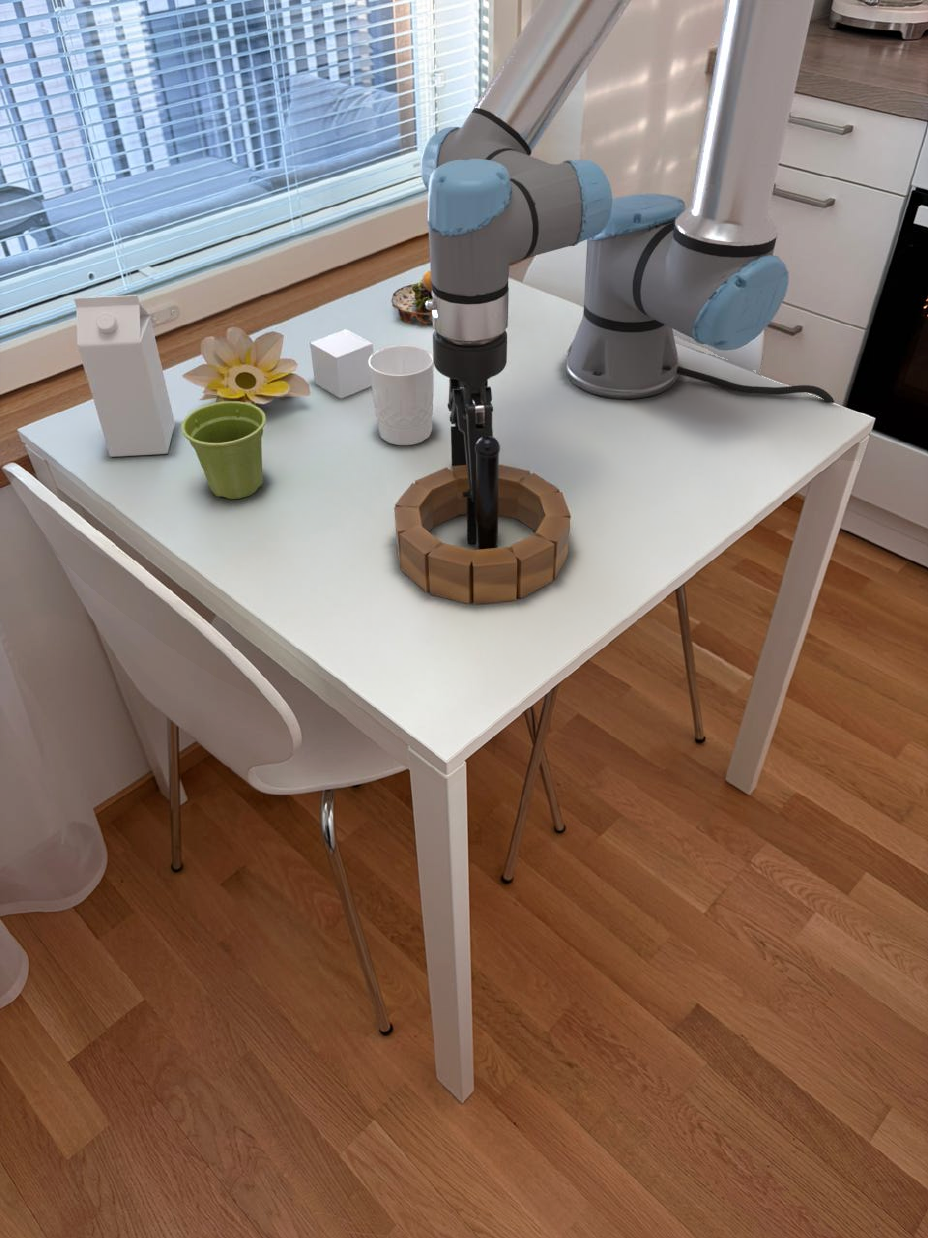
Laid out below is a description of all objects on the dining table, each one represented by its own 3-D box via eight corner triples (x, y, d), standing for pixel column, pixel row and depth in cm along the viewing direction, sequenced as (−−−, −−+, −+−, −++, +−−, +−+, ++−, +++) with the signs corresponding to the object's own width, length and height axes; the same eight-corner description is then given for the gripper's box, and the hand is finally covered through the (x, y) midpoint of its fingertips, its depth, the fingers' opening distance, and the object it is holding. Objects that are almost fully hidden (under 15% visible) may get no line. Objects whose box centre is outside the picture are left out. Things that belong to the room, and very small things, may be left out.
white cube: (376, 384, 136) (373, 343, 132) (340, 399, 133) (336, 357, 129) (349, 368, 139) (345, 328, 135) (314, 383, 136) (309, 342, 132)
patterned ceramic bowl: (435, 285, 160) (433, 239, 155) (483, 309, 153) (483, 261, 148) (375, 307, 154) (371, 259, 149) (422, 332, 147) (420, 283, 142)
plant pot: (209, 517, 113) (194, 452, 107) (186, 476, 119) (171, 413, 113) (287, 495, 116) (276, 430, 110) (261, 456, 122) (250, 393, 117)
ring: (547, 494, 115) (549, 457, 112) (582, 593, 102) (585, 555, 99) (391, 508, 114) (388, 471, 110) (406, 611, 100) (403, 572, 97)
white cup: (428, 451, 123) (425, 378, 116) (367, 445, 124) (360, 372, 117) (442, 419, 128) (440, 347, 122) (383, 413, 130) (378, 342, 123)
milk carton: (120, 428, 128) (80, 285, 115) (175, 425, 128) (142, 282, 116) (110, 458, 123) (67, 311, 110) (168, 454, 123) (132, 308, 110)
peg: (501, 558, 106) (503, 426, 96) (506, 579, 104) (509, 445, 93) (468, 561, 106) (466, 429, 95) (472, 582, 103) (471, 449, 93)
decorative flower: (204, 432, 123) (189, 350, 119) (183, 412, 132) (168, 336, 128) (317, 410, 129) (307, 332, 124) (290, 392, 138) (279, 319, 133)
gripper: (420, 282, 108) (427, 452, 122) (447, 392, 90) (452, 576, 104) (488, 278, 109) (487, 447, 123) (529, 385, 90) (522, 569, 105)
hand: (471, 506), depth 113 cm, fingers open, 12 cm apart
